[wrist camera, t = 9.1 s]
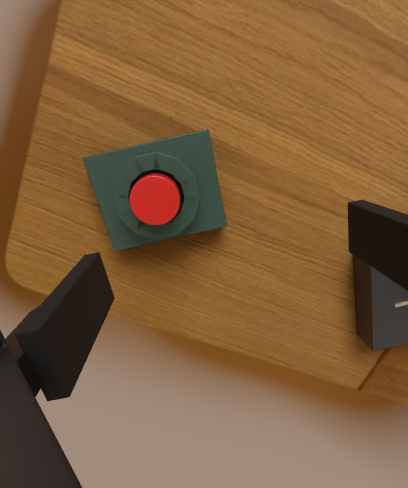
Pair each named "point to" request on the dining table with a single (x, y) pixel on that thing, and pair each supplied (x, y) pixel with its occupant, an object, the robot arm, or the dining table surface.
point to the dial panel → (379, 308)
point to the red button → (155, 199)
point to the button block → (167, 163)
